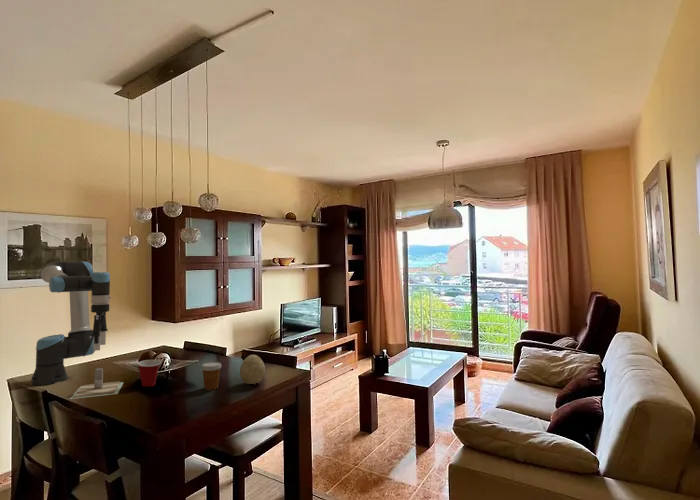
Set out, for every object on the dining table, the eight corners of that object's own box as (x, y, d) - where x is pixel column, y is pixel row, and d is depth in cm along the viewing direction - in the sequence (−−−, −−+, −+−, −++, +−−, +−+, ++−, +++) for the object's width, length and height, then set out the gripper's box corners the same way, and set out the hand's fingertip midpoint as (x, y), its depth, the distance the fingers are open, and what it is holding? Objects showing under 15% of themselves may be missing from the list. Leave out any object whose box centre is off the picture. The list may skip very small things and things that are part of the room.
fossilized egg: (252, 379, 209) (252, 351, 210) (270, 382, 203) (270, 354, 203) (234, 385, 198) (234, 355, 199) (252, 389, 192) (252, 359, 192)
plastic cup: (150, 389, 191) (151, 365, 191) (131, 388, 193) (132, 364, 194) (165, 383, 202) (166, 359, 202) (147, 381, 204) (147, 358, 204)
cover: (82, 387, 193) (83, 366, 193) (119, 383, 199) (120, 363, 200) (74, 397, 178) (74, 375, 179) (114, 393, 185) (115, 372, 185)
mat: (80, 387, 194) (80, 386, 194) (123, 383, 201) (123, 382, 201) (69, 400, 176) (69, 399, 176) (117, 394, 184) (117, 393, 184)
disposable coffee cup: (200, 392, 188) (200, 367, 188) (202, 386, 197) (202, 362, 198) (220, 390, 191) (221, 365, 191) (221, 384, 200) (222, 361, 200)
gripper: (104, 306, 180) (103, 352, 179) (113, 301, 203) (112, 342, 202) (85, 306, 177) (84, 353, 176) (96, 301, 200) (96, 343, 199)
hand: (99, 347), depth 189 cm, fingers open, 13 cm apart
